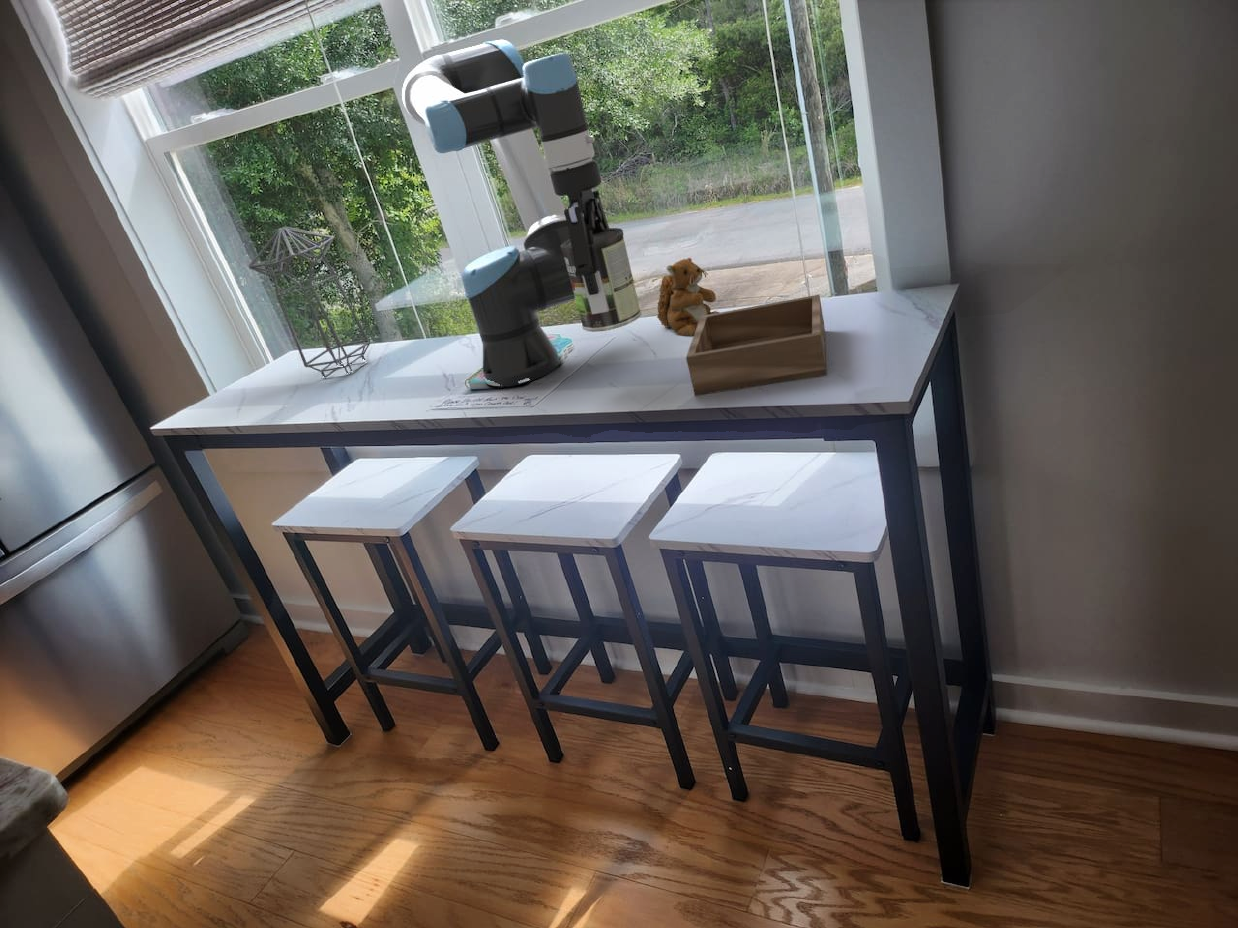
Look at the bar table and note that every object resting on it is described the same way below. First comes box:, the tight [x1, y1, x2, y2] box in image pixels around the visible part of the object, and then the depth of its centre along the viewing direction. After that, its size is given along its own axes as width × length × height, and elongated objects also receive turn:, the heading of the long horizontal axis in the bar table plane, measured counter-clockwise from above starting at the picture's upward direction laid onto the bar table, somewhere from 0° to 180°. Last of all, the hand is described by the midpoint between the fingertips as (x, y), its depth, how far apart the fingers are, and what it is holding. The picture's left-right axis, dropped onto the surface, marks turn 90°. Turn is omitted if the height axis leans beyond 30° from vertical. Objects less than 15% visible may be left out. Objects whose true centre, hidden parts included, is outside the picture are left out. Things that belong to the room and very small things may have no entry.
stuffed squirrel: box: [656, 257, 720, 337], centre depth 167 cm, size 10×14×13 cm
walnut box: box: [685, 294, 828, 397], centre depth 139 cm, size 20×20×6 cm
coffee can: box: [561, 227, 642, 333], centre depth 140 cm, size 10×10×14 cm
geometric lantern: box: [248, 226, 371, 377], centre depth 197 cm, size 16×16×35 cm
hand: (607, 301), depth 141 cm, fingers closed on coffee can, 10 cm apart
